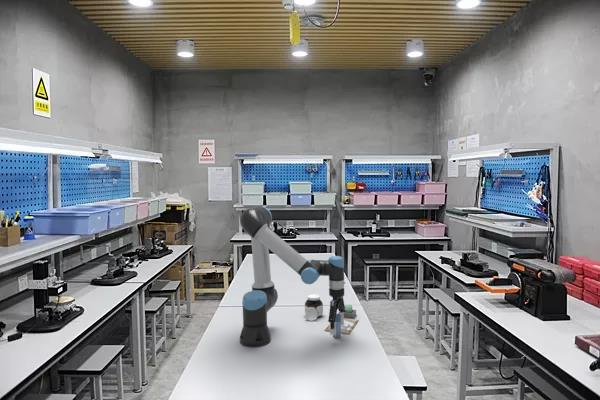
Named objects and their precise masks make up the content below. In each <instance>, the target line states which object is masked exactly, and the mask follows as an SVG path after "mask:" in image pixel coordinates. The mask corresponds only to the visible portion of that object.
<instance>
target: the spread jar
mask: <svg viewBox="0 0 600 400" xmlns="http://www.w3.org/2000/svg"><path fill="white" fill-rule="evenodd" d="M320 298H321V296H320V295H319V294H314V293H313V294H309V295H307V299H306V301H305V303H304V313H305V314H304V316H305V318H306V319H307V321H311V322H312V321H315V320H316V319H318V318H320V317H322V316H323V314H324V304H323V303H324V302H323V301H322V300H321V299H320Z"/></svg>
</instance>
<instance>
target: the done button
mask: <svg viewBox="0 0 600 400" xmlns="http://www.w3.org/2000/svg"><path fill="white" fill-rule="evenodd" d="M344 305H345V304H344ZM352 310H353V305H352V304H346V305H345V312H346V313H352Z"/></svg>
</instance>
